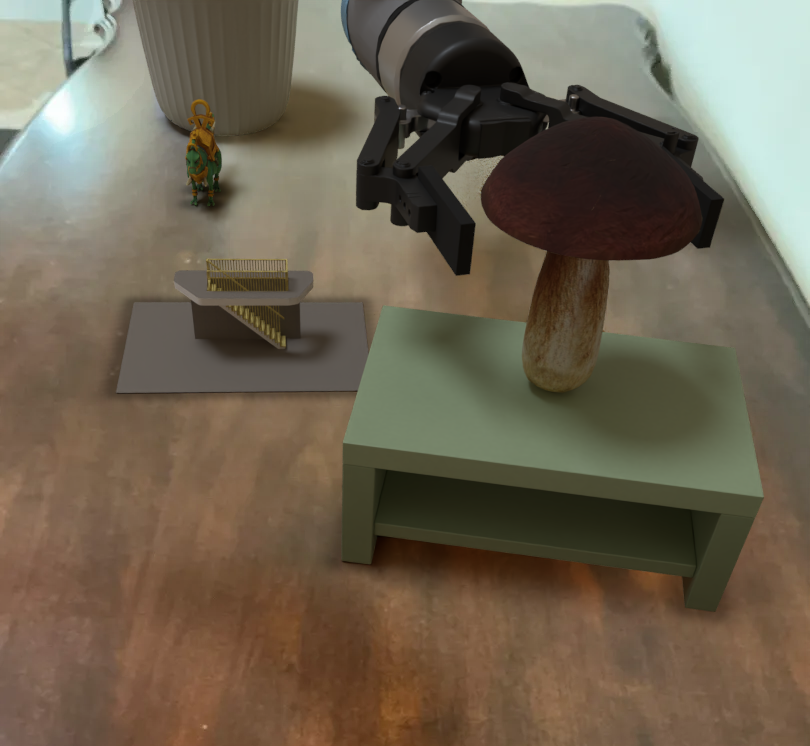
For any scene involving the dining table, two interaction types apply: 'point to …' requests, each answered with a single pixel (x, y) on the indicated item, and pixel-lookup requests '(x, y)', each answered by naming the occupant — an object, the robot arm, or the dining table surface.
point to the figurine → (203, 154)
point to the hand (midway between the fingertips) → (592, 237)
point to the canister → (220, 59)
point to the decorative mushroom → (585, 230)
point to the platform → (244, 336)
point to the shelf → (551, 451)
